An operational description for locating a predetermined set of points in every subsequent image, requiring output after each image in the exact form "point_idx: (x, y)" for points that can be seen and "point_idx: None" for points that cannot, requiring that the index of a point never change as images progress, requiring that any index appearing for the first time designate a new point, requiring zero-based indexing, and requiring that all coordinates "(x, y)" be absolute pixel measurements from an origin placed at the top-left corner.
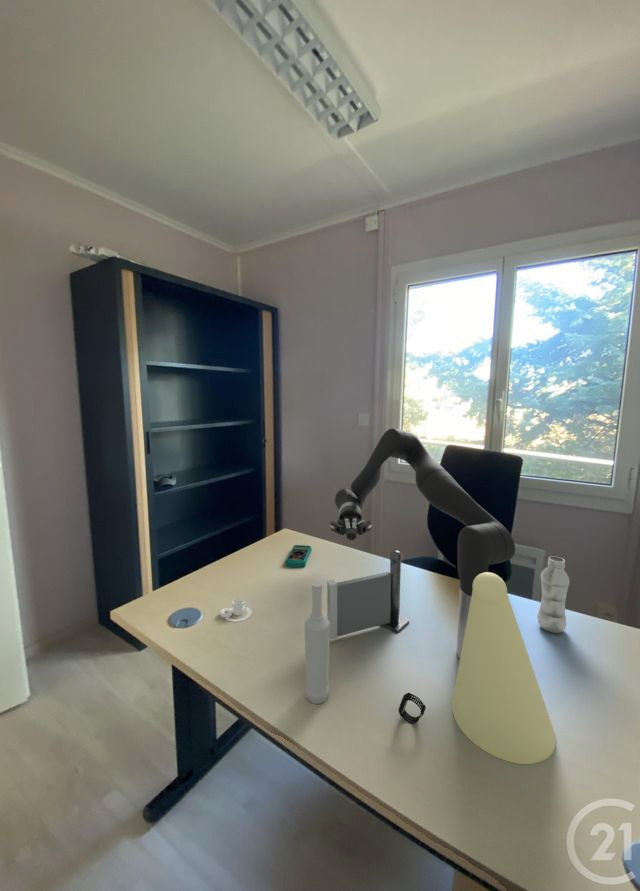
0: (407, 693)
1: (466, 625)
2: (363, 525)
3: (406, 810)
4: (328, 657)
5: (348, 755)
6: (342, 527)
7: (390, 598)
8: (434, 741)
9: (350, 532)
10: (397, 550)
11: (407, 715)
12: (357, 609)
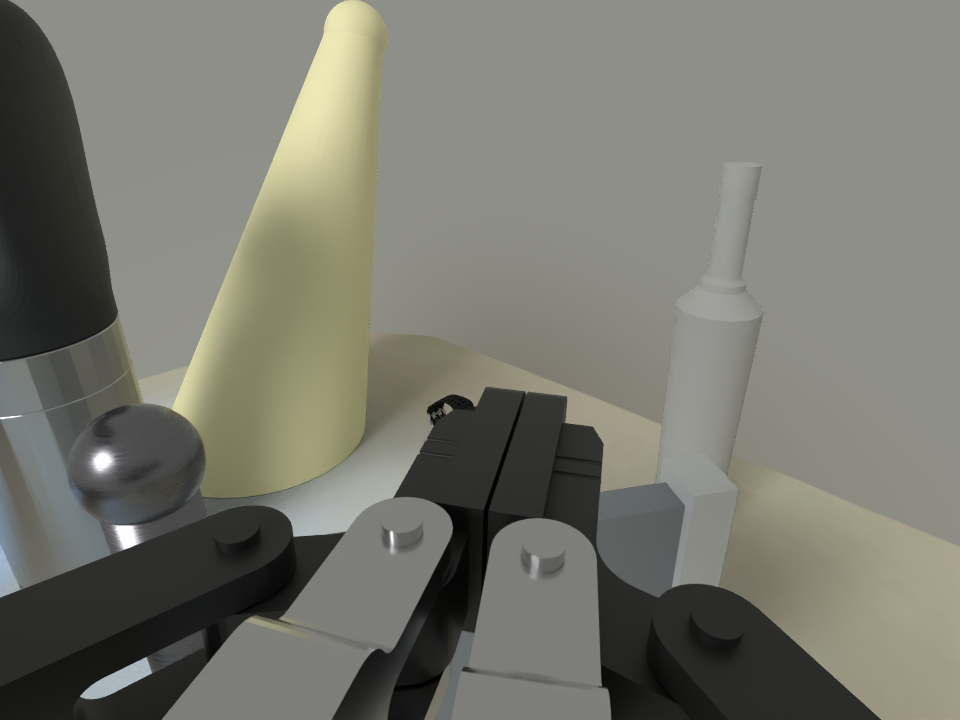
0: (458, 408)
1: (367, 160)
2: (120, 563)
3: (525, 372)
4: (664, 405)
5: (603, 419)
6: (699, 591)
7: None
8: None
9: (540, 401)
10: (99, 420)
11: None
12: None
